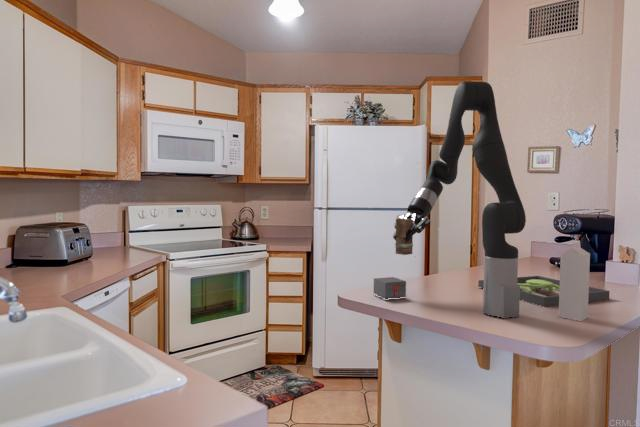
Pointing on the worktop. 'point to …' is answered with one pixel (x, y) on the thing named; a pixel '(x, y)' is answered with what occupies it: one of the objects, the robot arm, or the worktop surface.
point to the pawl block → (390, 287)
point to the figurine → (538, 285)
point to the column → (401, 231)
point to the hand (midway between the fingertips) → (400, 239)
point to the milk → (574, 283)
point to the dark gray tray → (594, 295)
